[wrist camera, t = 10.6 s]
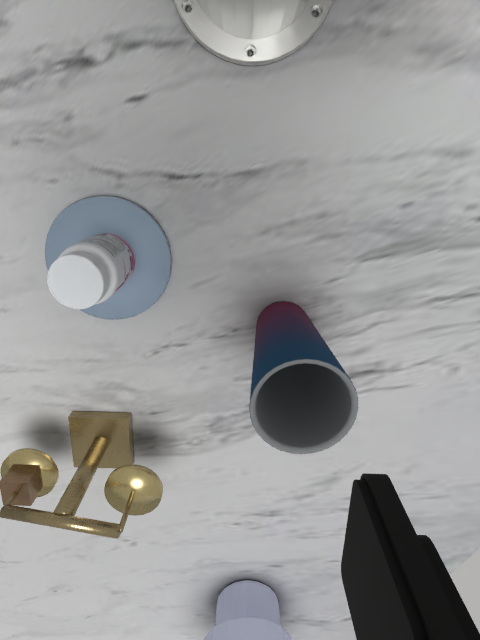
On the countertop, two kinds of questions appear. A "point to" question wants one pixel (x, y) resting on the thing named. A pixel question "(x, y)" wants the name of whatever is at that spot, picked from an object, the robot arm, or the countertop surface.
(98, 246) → the pill bottle
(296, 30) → the robot arm
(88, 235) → the saucer
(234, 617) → the soap bottle
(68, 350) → the countertop surface
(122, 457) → the balance
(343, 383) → the cup
